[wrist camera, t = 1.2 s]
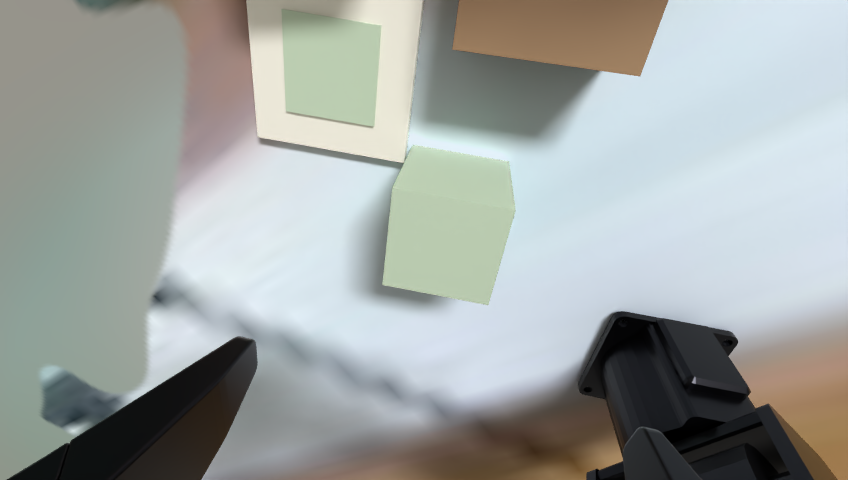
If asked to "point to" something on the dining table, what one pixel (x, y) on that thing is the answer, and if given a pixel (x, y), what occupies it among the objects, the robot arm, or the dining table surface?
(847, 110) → the dining table surface
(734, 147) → the dining table surface
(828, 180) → the dining table surface
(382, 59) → the swatch tile
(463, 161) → the sage block
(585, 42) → the walnut block
